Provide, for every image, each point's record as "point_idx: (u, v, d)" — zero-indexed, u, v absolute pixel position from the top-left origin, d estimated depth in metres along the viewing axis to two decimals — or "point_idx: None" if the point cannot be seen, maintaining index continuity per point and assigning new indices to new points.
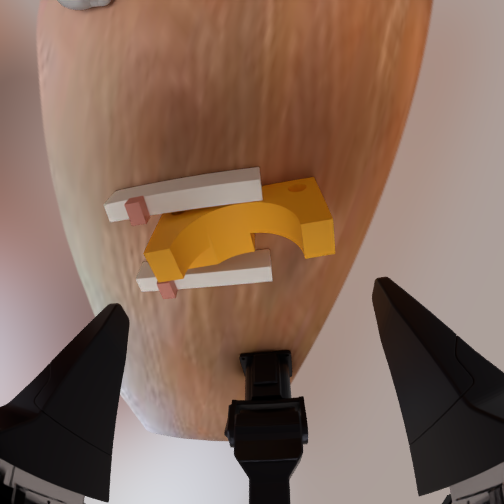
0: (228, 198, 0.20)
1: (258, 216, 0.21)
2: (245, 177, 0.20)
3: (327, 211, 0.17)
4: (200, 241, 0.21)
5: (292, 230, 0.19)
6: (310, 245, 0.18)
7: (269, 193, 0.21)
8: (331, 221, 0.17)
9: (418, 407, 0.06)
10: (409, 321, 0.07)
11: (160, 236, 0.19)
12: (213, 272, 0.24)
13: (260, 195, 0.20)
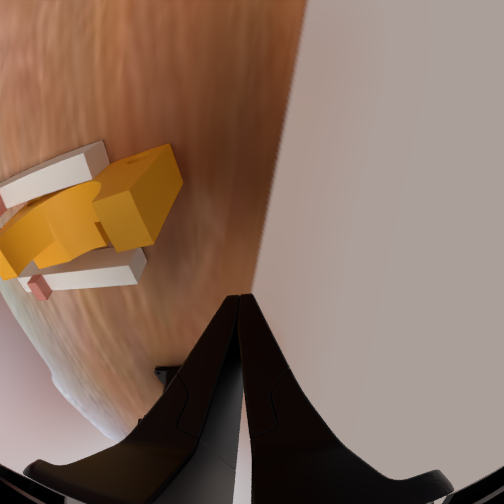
0: (60, 181, 0.14)
1: None
2: (75, 154, 0.13)
3: (134, 181, 0.11)
4: (41, 234, 0.15)
5: None
6: (115, 232, 0.11)
7: (107, 170, 0.14)
8: (128, 194, 0.10)
9: None
10: (241, 344, 0.07)
11: (2, 230, 0.13)
12: (74, 272, 0.18)
13: (88, 173, 0.14)
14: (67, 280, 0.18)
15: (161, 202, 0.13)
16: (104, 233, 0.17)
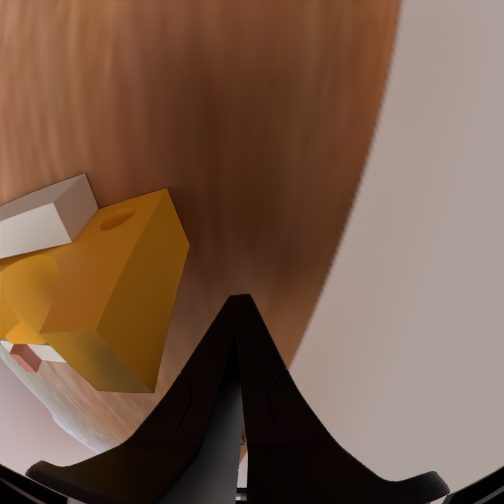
0: (26, 241, 0.09)
1: None
2: (43, 200, 0.08)
3: (105, 298, 0.06)
4: (2, 315, 0.09)
5: None
6: (88, 373, 0.06)
7: None
8: (95, 335, 0.05)
9: None
10: (238, 344, 0.07)
11: None
12: None
13: (64, 233, 0.08)
14: None
15: (158, 307, 0.08)
16: None
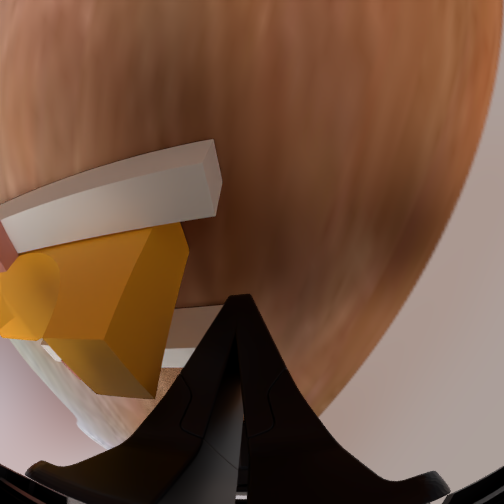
0: (135, 215, 0.08)
1: (57, 278, 0.09)
2: (171, 162, 0.08)
3: (112, 306, 0.06)
4: None
5: None
6: (89, 377, 0.06)
7: None
8: (103, 344, 0.05)
9: None
10: (239, 344, 0.07)
11: None
12: None
13: (208, 204, 0.08)
14: None
15: (160, 314, 0.08)
16: None
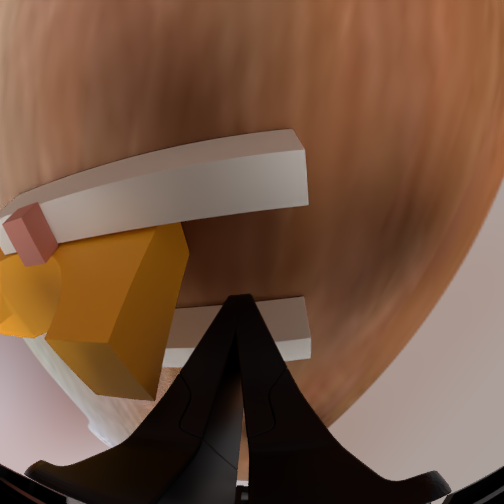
0: (221, 200, 0.08)
1: (57, 277, 0.09)
2: (264, 147, 0.07)
3: (115, 309, 0.06)
4: None
5: None
6: (90, 378, 0.06)
7: None
8: (107, 347, 0.05)
9: None
10: (239, 344, 0.07)
11: None
12: None
13: (304, 192, 0.08)
14: (177, 357, 0.12)
15: (160, 317, 0.08)
16: None
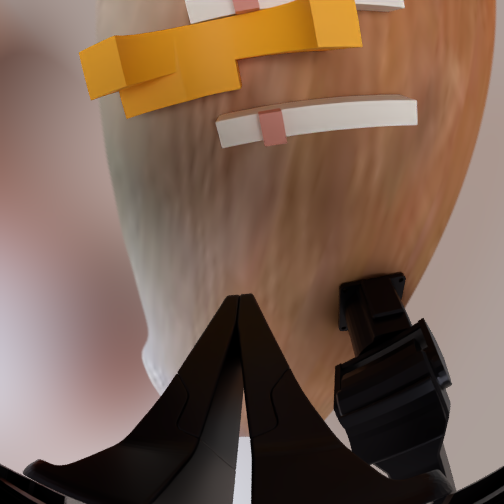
0: None
1: (247, 32, 0.12)
2: None
3: None
4: (162, 59, 0.12)
5: (295, 30, 0.10)
6: (324, 26, 0.09)
7: None
8: None
9: None
10: (241, 344, 0.07)
11: None
12: (344, 103, 0.14)
13: (402, 1, 0.10)
14: (325, 116, 0.15)
15: None
16: (238, 77, 0.14)
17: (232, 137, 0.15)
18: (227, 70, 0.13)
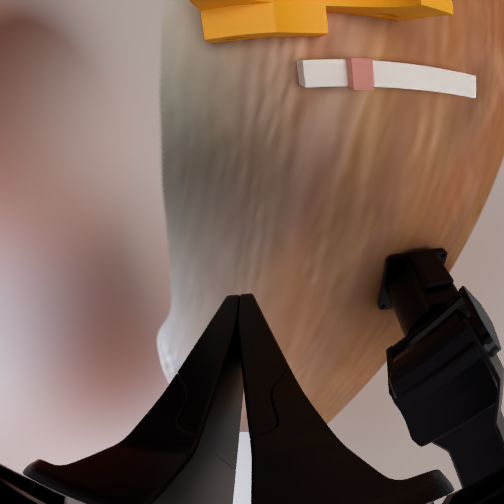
0: None
1: None
2: None
3: None
4: None
5: None
6: None
7: None
8: None
9: None
10: (241, 344, 0.07)
11: None
12: (420, 66, 0.12)
13: None
14: (404, 74, 0.13)
15: None
16: None
17: (317, 78, 0.13)
18: (317, 14, 0.11)
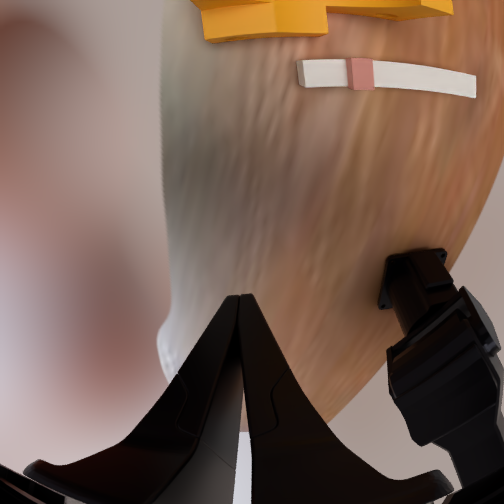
0: None
1: None
2: None
3: None
4: None
5: None
6: None
7: None
8: None
9: None
10: (241, 344, 0.07)
11: None
12: (420, 66, 0.12)
13: None
14: (404, 74, 0.13)
15: None
16: None
17: (317, 78, 0.13)
18: (317, 14, 0.11)
